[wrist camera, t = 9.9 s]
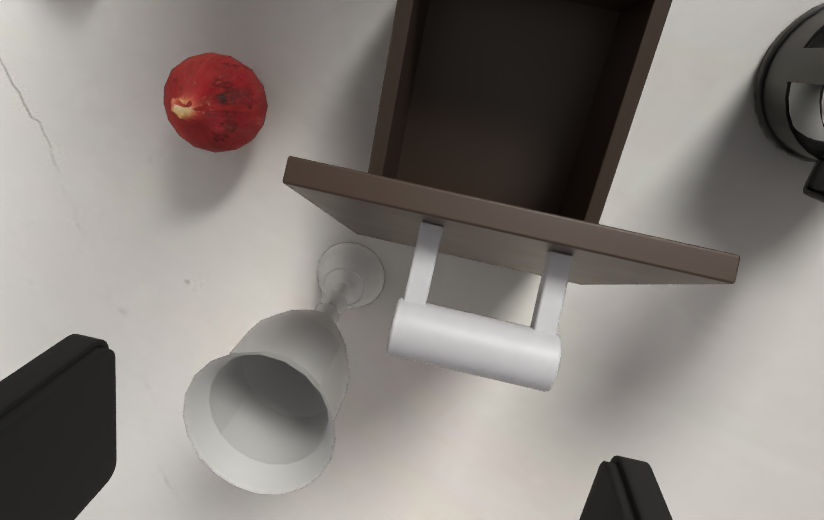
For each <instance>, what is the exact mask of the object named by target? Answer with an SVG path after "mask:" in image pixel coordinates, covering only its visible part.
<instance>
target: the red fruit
mask: <svg viewBox="0 0 824 520" xmlns="http://www.w3.org/2000/svg"><path fill="white" fill-rule="evenodd" d="M164 107H165V110H166V114H167V117H168V120H169V122H170V123H171V125H172V126H173V127H174V129H175V130H176V132H177V133H178V134H179V136H180V137H182V138H183V139H185V140H186V141H187V142H189V143H190V144H191V145H193V146H194V147H197V148H200V149H204V150H208V151H212V152H222V151H229V150H236V149H238V148H240V147H242V146H243V145H245V144H247V143H249V142H250V141H252V140H253V139H254V137H255V136H256V135H257V133H258V132H259V131H260V129H261V128H262V126H263V125H264V121H265V116H266V112H267V107H268V105H267V101H266V96H265V91H264V87H263V85H262V83H261V82H260V81H259V79H258V78H257V76H256V75H255V73H254V72H253V70H252V69H250V68H249V67H247V66H246V65H244V64H242V63H241V62H239V61H237V60H236V59H234V58H233V57H231V56H227V55H222V54H217V53H204V54H200V55H196V56H192V57H189V58H187V59H186V60H184V61H183V62H181V63H180V64H179V65H177V66H176V67H174V68H173V69H172V70H171V72H170V75H169V77H168V79H167V82H166V84H165V86H164Z"/></svg>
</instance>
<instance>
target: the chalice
mask: <svg viewBox="0 0 824 520" xmlns="http://www.w3.org/2000/svg"><path fill="white" fill-rule="evenodd" d="M317 276H318V282H319V285H320V289H321V291H322V293H323V296H322V299H321V304H319V305H318V306H317V307H316V309H315V310H290V311H287V312H283V313H280V314H277V315H274V316H271V317H269V318H266V319H263V320H261V321H260V322H259V323H257V324H256V325H255V326H254V327H253V328H252V329H251V330H249V331H248V333H247V334H246V335H245V336H244V337H243V338H242V340H241V341H240V342H239V343H238V344H237V345H236V347H235V348H234V349H233V350H232V351H231V352H230V354H229V355H226V356H224V357H221V358H218V359H215V360H213V361H211V362H209V363H208V364H207V365H206V366H205V367H204V368H203V369H202V370H200V371H199V372H198V373H197V374H196V375H195V376H194V378H193V380H192V382H191V384H190V386H189V388H188V390H187V392H186V394H185V403H184V412H183V417H184V421H185V426H186V431H187V435H188V438H189V440H190V441H191V443H192V445H193V447H194V449H195V451H196V453H197V454H198V456H199V457H200V458H201V459H202V461H203V462H204V463H205V464H206V465H207V466H208V467H209V468H210V469H211V470H212V471H213V472H214V473H215V474H216V475H218V476H219V477H221V478H223V479H224V480H226V481H227V482H229V483H231V484H232V485H234V486H235V487H239V488H242V489H245V490H248V491H251V492H255V493H258V494H284V493H288V492H291V491H295V490H298V489H302V488H304V487H305V486H306V485H308V484H309V483H311V482H312V481H314V480H315V479H316V478H318V477H319V476H320V475H321V473H322V472H323V470H324V469H325V467H326V466H327V464H328V463H329V461H330V460H331V456H332V452H333V447H334V443H335V431H334V420H335V418H336V415H337V413H338V410H339V408H340V405H341V403H342V401H343V398H344V396H345V393H346V390H347V385H348V381H349V368H348V359H347V352H346V345H345V343H344V340H343V338H342V336H341V333H340V331H339V329H338V327H337V325H336V323H337V322H338V319H339V314H342V313H343V312H344V311H345V310H346V309H352V308H356V307H361V306H364V305H367V304H369V303H371V302H372V301H373V300H375V299H376V298H377V297H378V295H379V294H380V292H381V291H382V289H383V285H384V281H385V278H384V269H383V267H382V264H381V262H380V260H379V259H378V257H377V256H376V255H375V254H374V253H373V252H372V251H371V250H369V249H368V248H366V247H365V246H363V245H359V244H356V243H340V244H337V245H334V246H332V247H331V248H329V249H328V250H327V251H326V252H324V254H323V255H322V257H321V259H320V260H319V263H318V268H317Z"/></svg>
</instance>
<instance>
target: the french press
mask: <svg viewBox="0 0 824 520" xmlns="http://www.w3.org/2000/svg"><path fill="white" fill-rule="evenodd" d="M823 29H824V3H822V4H820V5H818V6H816V7H814V8H812V9H810V10H809V11H807V12H806V13H804V14H803V15H801V16H800V17H798V18H797V19H796V20H794V21H793V22H792V23H791V24H790V25H789V26H788V27H787V28H786V29H785V30H784V31H783V32H782V33H781V34H780V35H779V36H778V38H777V39H776V40H775V42H774V43H773V44H772V46H771V47H770V48H769V50H768V52H767V54H766V56H765V58H764V59H763V61H762V63H761V66H760V69H759V72H758V75H757V78H756V85H755V92H754V100H755V111H756V114H757V118H758V121H759V124H760V126H761V128H762V129H763V131H764V133H765V135H766V136H767V138H768V139H769V140H770V141H771V142H772V143H773V144H774V145H775V146H776V147H777V148H779V149H780V150H782V151H784V152H785V153H787V154H788V155H791V156H793V157H796V158H799V159H802V160H805V161H811V162H816V163H815V165H814V167H813V169H812V171H811V173H810V175H809V177H808V179H807V181H806V183H805V185H804V187H803V193H804V194H806V195H808V196H810V197H812V198H814V199H817V200H819V201H821V202H824V141H817V140H813V139H811V138H808V137H806V136H804V135H803V134H801V133H800V132H798V131H797V130H796V129H795V128H794V127H793V124H792V120H791V117H790V113H789V92H790V85H791V82H797V83H808V84H820V85H822V86H821V92H820V114H821V119H822V123H823V126H824V48H807V47H808V46H809V45H810V44H811V42H812V41H813V40H814V39H815V37H816V36H817V35H818V34H819V33H820V32H821V31H822V30H823Z"/></svg>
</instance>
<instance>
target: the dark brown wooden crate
mask: <svg viewBox="0 0 824 520" xmlns="http://www.w3.org/2000/svg"><path fill="white" fill-rule="evenodd" d="M671 3H672V0H397V6H396V12H395V18H394V23H393V29H392V35H391V41H390V47H389V53H388V59H387V65H386V71H385V77H384V82H383V88H382V94H381V100H380V106H379V112H378V118H377V124H376V130H375V136H374V141H373V147H372V153H371V159H370V165H369V171H368V173H370V174H375V175H379V176H384V177H388V178H393V179H397V180H402V181H406V182H411V183H415V184H420V185H424V186H429V187H433V188H438V189H442V190H447V191H451V192H456V193H460V194H465V195H469V196H474V197H478V198H483V199H487V200H492V201H496V202H501V203H505V204H510V205H514V206H519V207H523V208H528V209H532V210H537V211H542V212H546V213H551V214H555V215H560V216H564V217H569V218H573V219H578V220H582V221H587V222H591V223H596V224H598V223H599V220H600V217H601V214H602V211H603V208H604V205H605V202H606V199H607V196H608V193H609V190H610V187H611V184H612V181H613V178H614V175H615V172H616V169H617V166H618V163H619V160H620V157H621V154H622V151H623V148H624V145H625V142H626V139H627V136H628V133H629V130H630V127H631V124H632V121H633V118H634V115H635V112H636V109H637V106H638V103H639V100H640V97H641V94H642V91H643V88H644V85H645V82H646V79H647V76H648V73H649V70H650V66H651V63H652V60H653V57H654V54H655V51H656V48H657V45H658V42H659V39H660V36H661V33H662V30H663V27H664V24H665V21H666V18H667V15H668V12H669V9H670V6H671Z"/></svg>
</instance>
